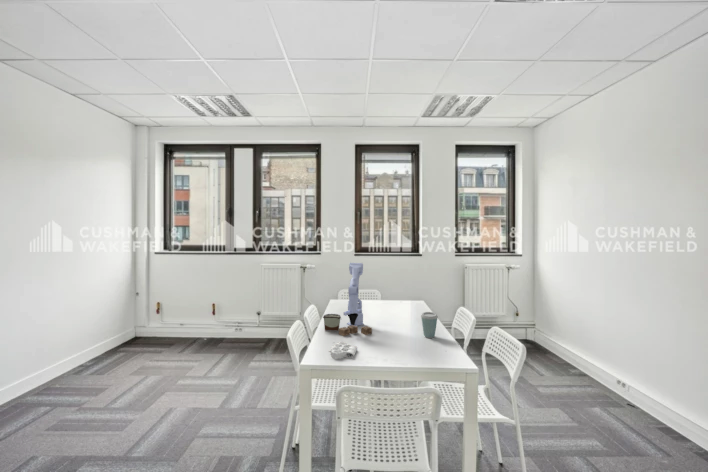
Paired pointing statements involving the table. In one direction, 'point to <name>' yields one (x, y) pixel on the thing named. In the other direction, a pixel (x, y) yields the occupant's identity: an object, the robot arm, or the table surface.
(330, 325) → the food container
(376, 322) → the table surface
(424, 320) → the disposable coffee cup
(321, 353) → the table surface
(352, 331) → the plain block
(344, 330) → the block two
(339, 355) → the grey egg carton
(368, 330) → the block one
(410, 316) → the table surface
